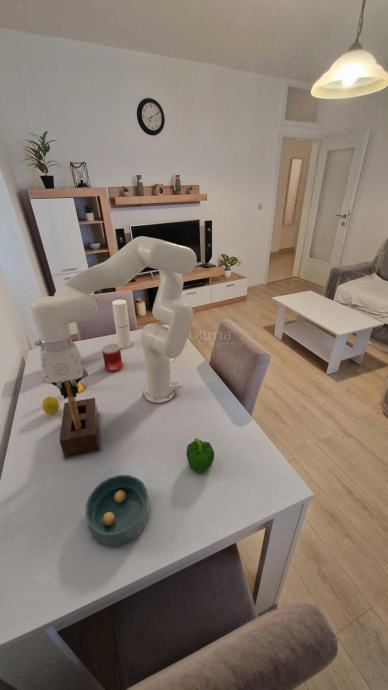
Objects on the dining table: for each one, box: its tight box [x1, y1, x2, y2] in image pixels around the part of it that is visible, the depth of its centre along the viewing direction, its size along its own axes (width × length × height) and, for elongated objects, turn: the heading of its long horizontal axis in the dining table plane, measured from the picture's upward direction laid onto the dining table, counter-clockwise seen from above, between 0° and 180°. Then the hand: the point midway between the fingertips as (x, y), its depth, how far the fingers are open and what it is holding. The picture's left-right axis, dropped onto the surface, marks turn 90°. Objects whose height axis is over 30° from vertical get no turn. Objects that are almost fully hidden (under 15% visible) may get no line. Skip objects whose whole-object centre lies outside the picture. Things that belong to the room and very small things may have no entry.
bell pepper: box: [186, 437, 215, 474], centre depth 84 cm, size 8×8×10 cm
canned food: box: [101, 343, 123, 373], centre depth 129 cm, size 8×8×11 cm
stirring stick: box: [63, 380, 82, 430], centre depth 87 cm, size 2×2×24 cm
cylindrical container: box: [111, 299, 132, 349], centre depth 145 cm, size 7×7×25 cm
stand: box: [59, 397, 100, 459], centre depth 94 cm, size 10×18×8 cm, turn 18°
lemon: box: [41, 395, 60, 415], centre depth 103 cm, size 6×6×8 cm
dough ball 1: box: [102, 512, 115, 526], centre depth 70 cm, size 3×3×3 cm
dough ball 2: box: [114, 490, 126, 503], centre depth 75 cm, size 3×3×3 cm
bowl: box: [85, 474, 150, 548], centre depth 71 cm, size 15×15×6 cm
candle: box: [71, 381, 85, 393], centre depth 114 cm, size 5×5×16 cm
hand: (70, 394), depth 84 cm, fingers closed on stirring stick, 2 cm apart
